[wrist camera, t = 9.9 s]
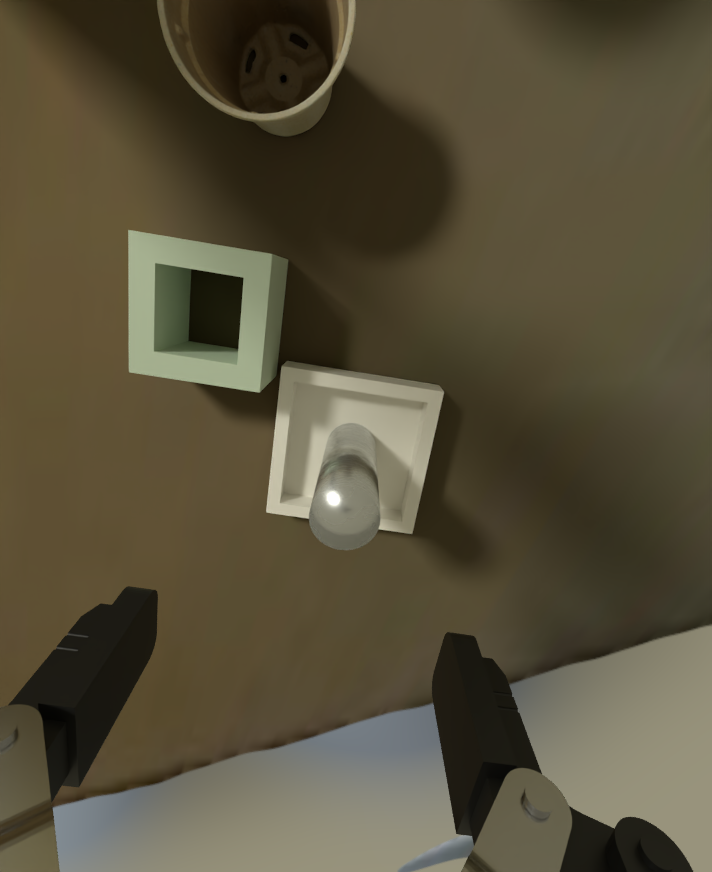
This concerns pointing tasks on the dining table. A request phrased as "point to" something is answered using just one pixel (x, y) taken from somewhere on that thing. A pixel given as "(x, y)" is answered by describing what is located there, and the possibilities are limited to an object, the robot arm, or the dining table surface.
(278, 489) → the tray
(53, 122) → the dining table surface
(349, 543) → the pin
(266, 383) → the block
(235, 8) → the flower pot
